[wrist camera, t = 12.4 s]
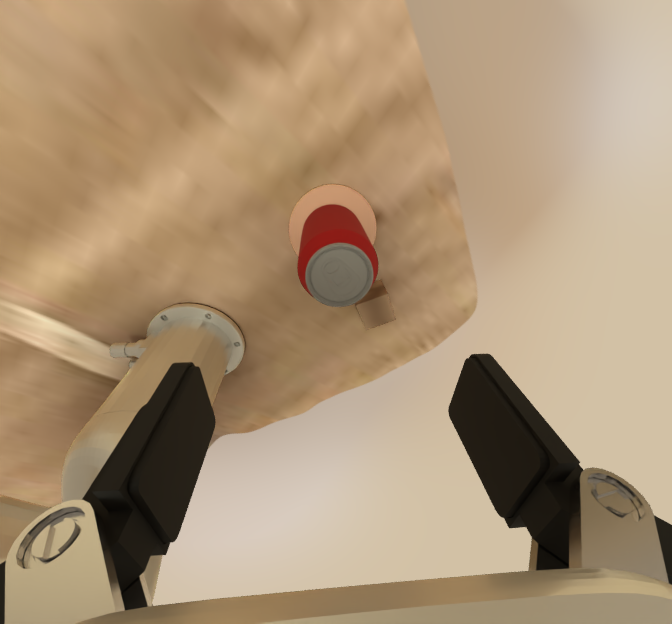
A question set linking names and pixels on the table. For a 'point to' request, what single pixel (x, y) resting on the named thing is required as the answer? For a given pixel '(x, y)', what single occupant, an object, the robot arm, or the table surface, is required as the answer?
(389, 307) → the walnut block
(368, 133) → the table surface
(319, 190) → the coaster
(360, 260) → the beverage can
